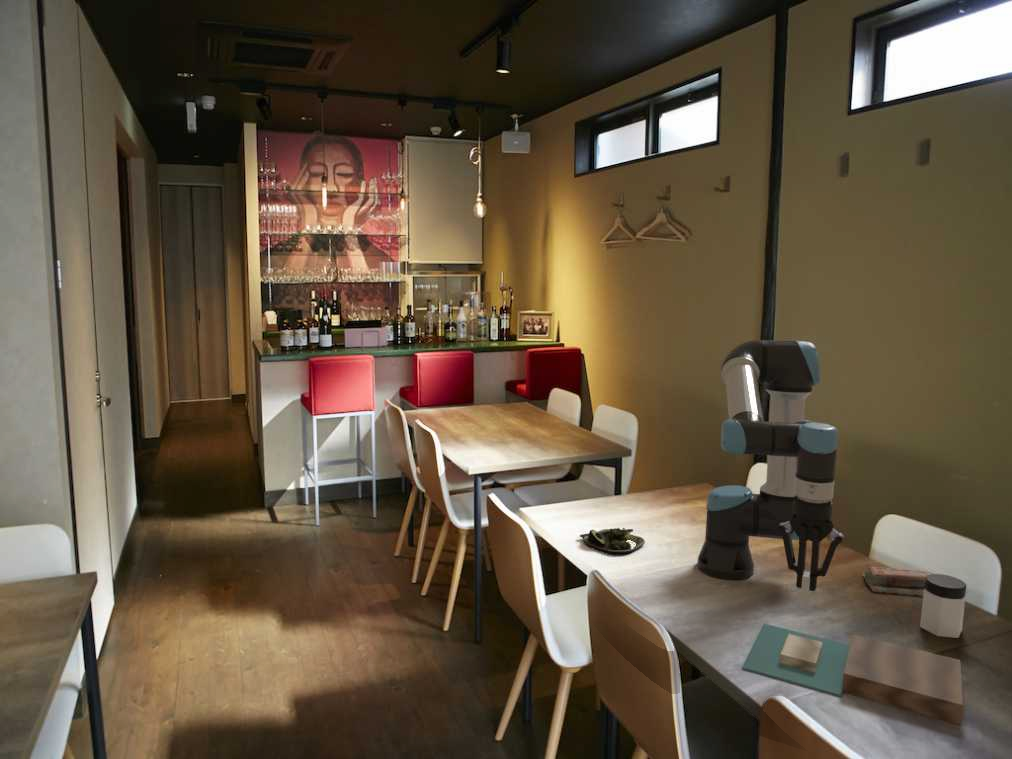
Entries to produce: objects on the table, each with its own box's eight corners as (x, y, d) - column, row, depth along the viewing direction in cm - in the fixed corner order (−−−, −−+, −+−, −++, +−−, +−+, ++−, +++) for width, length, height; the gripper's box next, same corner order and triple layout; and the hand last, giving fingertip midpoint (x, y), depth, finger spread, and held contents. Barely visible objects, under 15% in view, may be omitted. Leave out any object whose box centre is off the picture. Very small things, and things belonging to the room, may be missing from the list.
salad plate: (611, 528, 232) (612, 514, 232) (657, 543, 220) (658, 528, 219) (572, 543, 219) (573, 528, 219) (619, 560, 206) (619, 545, 206)
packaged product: (874, 576, 185) (862, 561, 195) (872, 593, 186) (861, 578, 196) (949, 582, 182) (934, 566, 192) (948, 600, 183) (932, 583, 193)
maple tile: (816, 663, 147) (815, 672, 148) (822, 642, 156) (821, 650, 156) (780, 654, 151) (779, 662, 151) (788, 633, 159) (788, 642, 160)
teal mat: (742, 668, 150) (742, 667, 150) (763, 625, 168) (763, 623, 168) (840, 696, 140) (841, 694, 140) (852, 647, 159) (852, 645, 158)
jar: (924, 616, 173) (929, 570, 171) (963, 627, 168) (969, 579, 166) (917, 630, 166) (921, 582, 164) (957, 642, 161) (963, 592, 159)
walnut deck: (842, 691, 142) (843, 673, 141) (851, 651, 157) (852, 634, 156) (960, 724, 131) (962, 705, 131) (958, 678, 147) (960, 660, 146)
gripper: (776, 497, 148) (769, 602, 152) (845, 508, 142) (836, 618, 146) (783, 487, 155) (776, 588, 159) (849, 497, 148) (840, 603, 152)
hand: (804, 602), depth 152 cm, fingers closed
